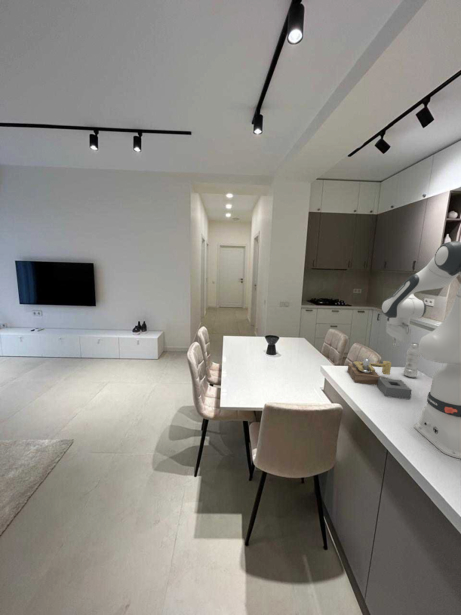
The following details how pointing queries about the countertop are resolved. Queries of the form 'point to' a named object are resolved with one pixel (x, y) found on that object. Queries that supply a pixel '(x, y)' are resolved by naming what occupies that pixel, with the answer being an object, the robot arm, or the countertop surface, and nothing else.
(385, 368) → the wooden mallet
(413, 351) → the plastic bottle
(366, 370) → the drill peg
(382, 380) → the grey square holed piece
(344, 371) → the countertop surface
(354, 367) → the socket block
